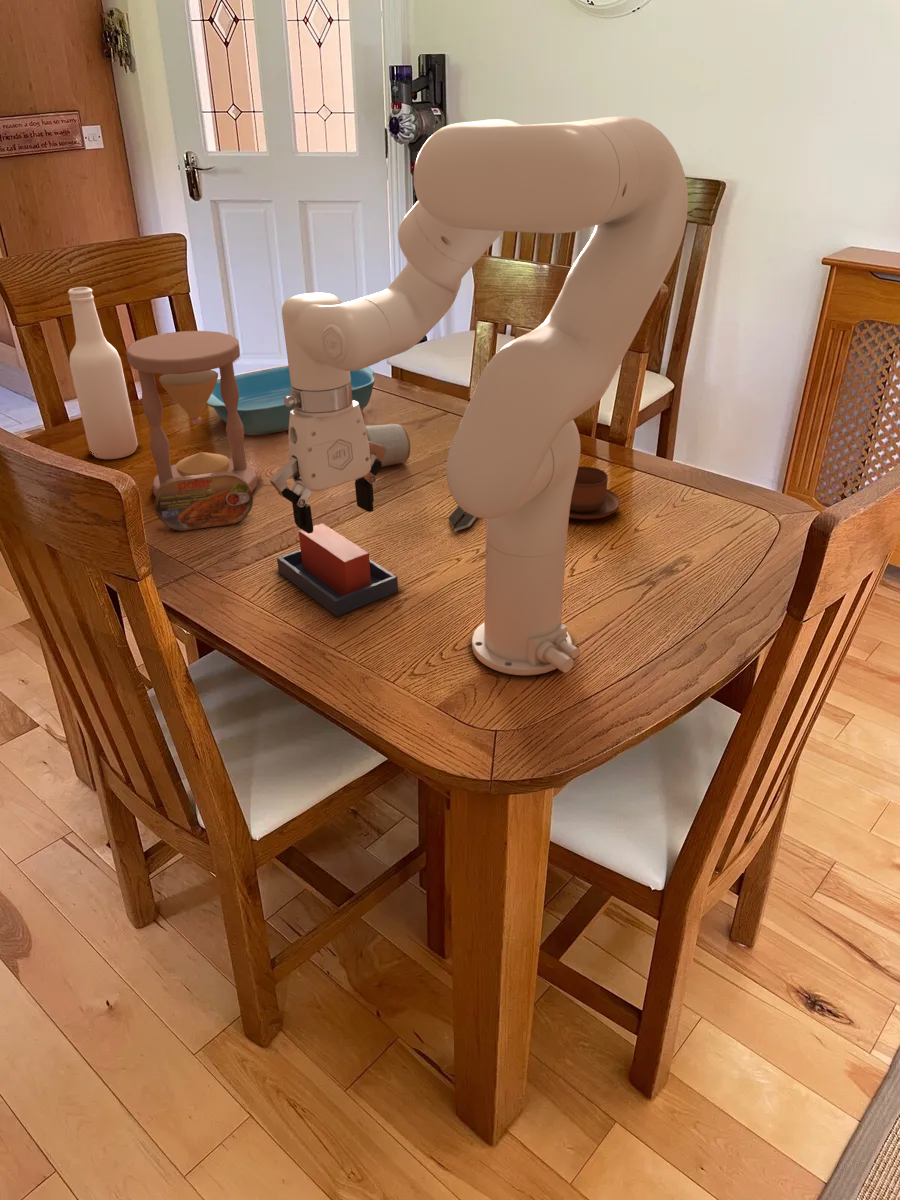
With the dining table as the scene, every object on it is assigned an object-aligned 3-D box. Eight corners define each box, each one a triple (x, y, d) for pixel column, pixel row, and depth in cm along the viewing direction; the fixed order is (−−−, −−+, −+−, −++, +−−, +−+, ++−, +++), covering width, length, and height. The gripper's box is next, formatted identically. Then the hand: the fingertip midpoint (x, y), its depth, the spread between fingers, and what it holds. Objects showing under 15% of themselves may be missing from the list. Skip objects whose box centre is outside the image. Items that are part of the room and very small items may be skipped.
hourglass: (249, 462, 164) (230, 326, 151) (265, 500, 150) (247, 353, 137) (150, 476, 159) (122, 336, 146) (158, 516, 145) (128, 365, 132)
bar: (325, 558, 132) (322, 522, 129) (371, 590, 124) (369, 553, 121) (302, 567, 130) (298, 530, 126) (347, 600, 122) (344, 562, 118)
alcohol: (124, 461, 165) (89, 295, 149) (81, 458, 167) (42, 293, 151) (146, 444, 173) (115, 284, 157) (105, 441, 174) (69, 282, 158)
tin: (159, 533, 140) (149, 484, 136) (159, 525, 143) (150, 476, 138) (256, 522, 143) (249, 473, 139) (254, 513, 146) (248, 466, 142)
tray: (398, 591, 124) (397, 576, 123) (336, 616, 119) (335, 601, 118) (337, 550, 135) (336, 536, 133) (278, 571, 129) (276, 557, 128)
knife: (462, 537, 138) (462, 529, 138) (425, 529, 141) (425, 521, 140) (522, 477, 158) (522, 470, 157) (488, 471, 160) (488, 464, 159)
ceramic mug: (413, 467, 162) (412, 426, 158) (372, 475, 159) (370, 434, 155) (389, 448, 170) (387, 410, 166) (350, 456, 167) (347, 417, 163)
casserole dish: (229, 449, 170) (224, 413, 166) (191, 415, 186) (185, 382, 183) (396, 412, 187) (394, 379, 183) (348, 385, 203) (346, 353, 199)
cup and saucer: (554, 491, 153) (556, 457, 149) (624, 499, 150) (627, 465, 146) (538, 520, 143) (540, 485, 140) (613, 530, 140) (616, 494, 137)
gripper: (277, 419, 105) (294, 548, 114) (394, 388, 115) (403, 509, 123) (247, 405, 111) (266, 529, 119) (362, 376, 120) (372, 493, 128)
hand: (336, 519), depth 121 cm, fingers open, 9 cm apart
